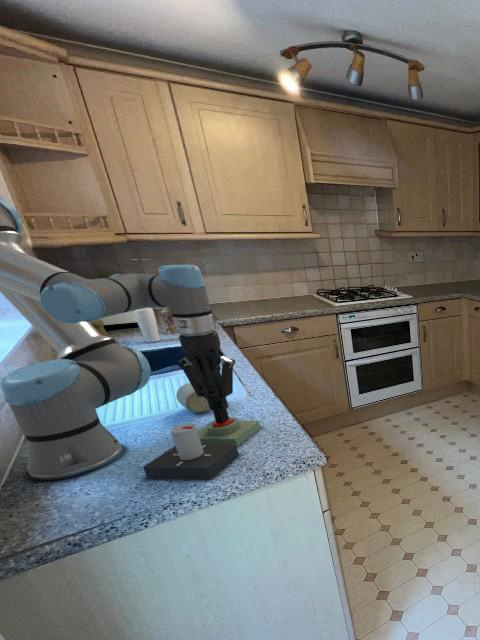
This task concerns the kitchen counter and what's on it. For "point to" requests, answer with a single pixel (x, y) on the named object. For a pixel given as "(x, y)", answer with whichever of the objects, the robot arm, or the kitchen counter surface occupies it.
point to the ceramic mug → (191, 399)
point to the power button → (223, 423)
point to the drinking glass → (147, 324)
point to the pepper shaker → (99, 326)
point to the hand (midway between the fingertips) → (222, 420)
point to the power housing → (228, 432)
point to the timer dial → (187, 441)
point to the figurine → (168, 322)
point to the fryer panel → (192, 463)
